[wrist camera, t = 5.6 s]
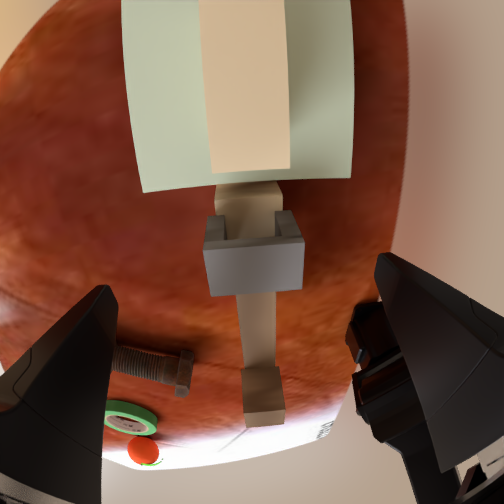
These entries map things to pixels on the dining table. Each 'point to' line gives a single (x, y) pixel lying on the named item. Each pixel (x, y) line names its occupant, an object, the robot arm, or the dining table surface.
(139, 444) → the clementine
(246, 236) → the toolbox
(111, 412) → the tape roll
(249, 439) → the dining table surface
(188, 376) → the bolt
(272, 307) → the key
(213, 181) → the lid
